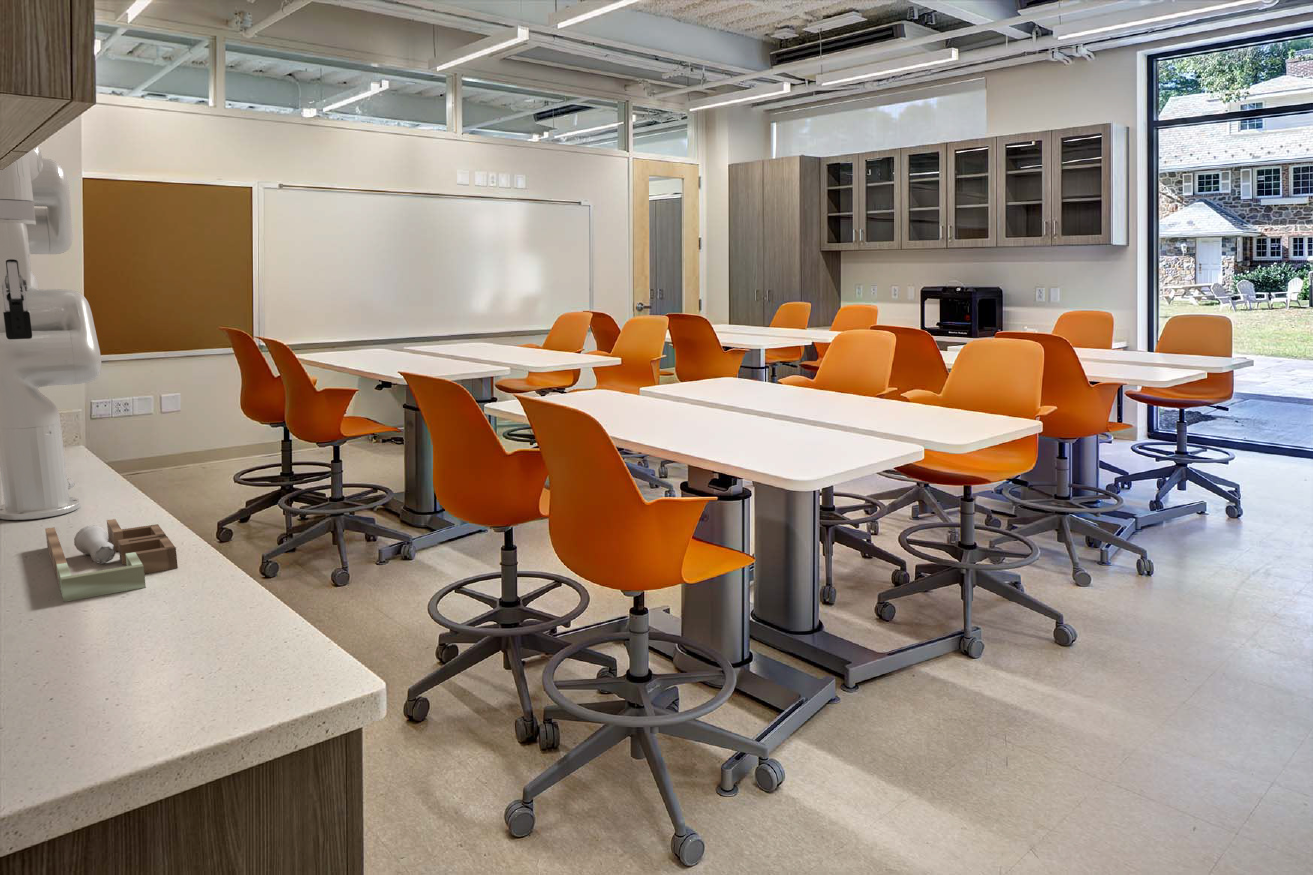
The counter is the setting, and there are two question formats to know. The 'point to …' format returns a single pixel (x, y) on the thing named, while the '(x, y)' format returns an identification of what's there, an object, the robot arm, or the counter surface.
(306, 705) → the counter surface
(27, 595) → the counter surface
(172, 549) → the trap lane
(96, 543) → the rook chess piece
